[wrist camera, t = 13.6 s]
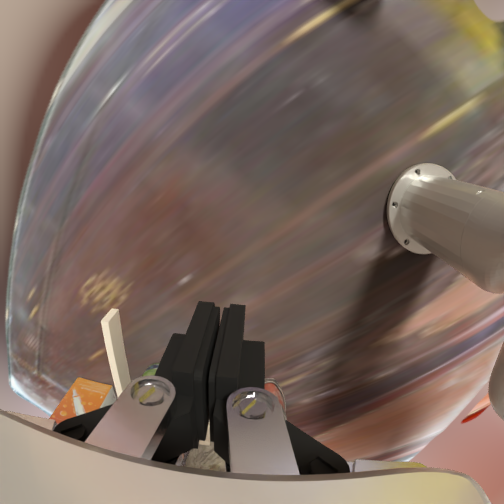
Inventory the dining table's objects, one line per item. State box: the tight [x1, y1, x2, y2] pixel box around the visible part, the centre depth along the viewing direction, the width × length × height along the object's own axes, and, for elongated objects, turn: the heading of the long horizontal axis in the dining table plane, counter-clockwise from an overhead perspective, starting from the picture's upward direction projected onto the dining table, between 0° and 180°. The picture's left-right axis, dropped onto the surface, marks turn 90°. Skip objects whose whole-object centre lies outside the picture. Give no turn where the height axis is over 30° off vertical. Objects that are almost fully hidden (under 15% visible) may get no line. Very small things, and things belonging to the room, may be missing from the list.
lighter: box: [265, 378, 286, 420], centre depth 44 cm, size 8×3×10 cm, turn 18°
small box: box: [49, 377, 117, 424], centre depth 44 cm, size 8×6×13 cm
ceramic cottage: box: [185, 442, 225, 472], centre depth 49 cm, size 16×16×15 cm
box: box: [101, 308, 210, 446], centre depth 43 cm, size 16×20×8 cm
